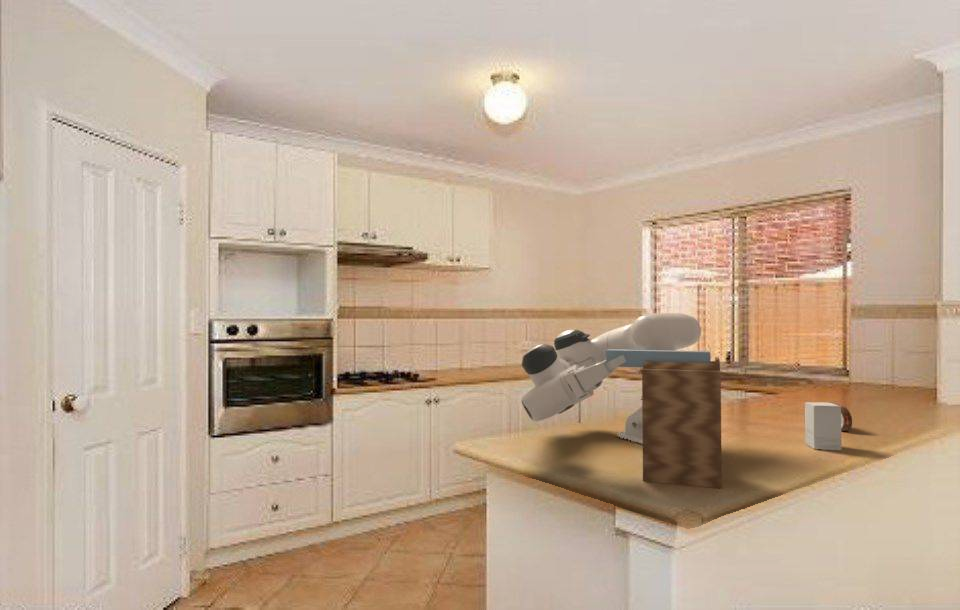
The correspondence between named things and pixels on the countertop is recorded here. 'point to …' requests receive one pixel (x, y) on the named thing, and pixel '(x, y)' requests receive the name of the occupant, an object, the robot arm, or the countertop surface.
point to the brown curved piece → (845, 418)
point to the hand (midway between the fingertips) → (626, 356)
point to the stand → (682, 423)
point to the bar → (657, 356)
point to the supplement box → (823, 425)
